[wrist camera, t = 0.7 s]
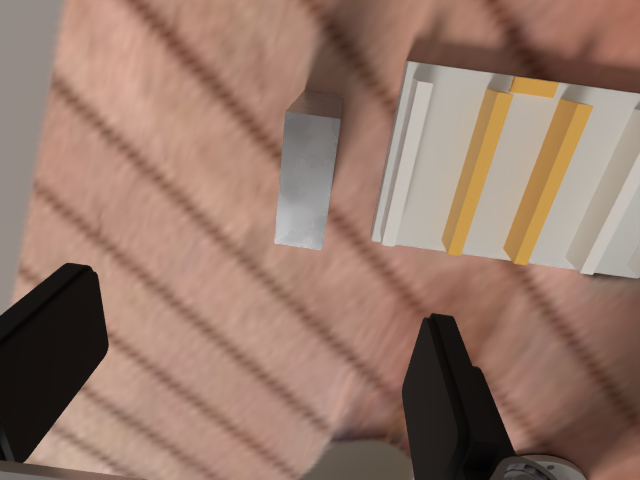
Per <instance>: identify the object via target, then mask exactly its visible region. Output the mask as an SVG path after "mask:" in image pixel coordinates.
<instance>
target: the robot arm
mask: <svg viewBox="0 0 640 480" xmlns="http://www.w3.org/2000/svg"><path fill="white" fill-rule="evenodd" d="M108 346H109V344H108V337H107V330H106V324H105V317H104V311H103V305H102V298H101V292H100V285H99V279H98V275H97V273H96V272H94V271H93V270H92V268H91V267H90V266H88V265H81V264H74V263H66V264H64V265H63V266H61V267H60V268H59V269H58V270H56V271H55V272H54V273H53V274H52V275H50V276H49V277H48V278H47V279H45V280H44V281H43V282H42V283H40V284H39V285H38V286H37V287H35V288H34V289H33V290H32V291H30V292H29V293H28V294H27V295H25V296H24V297H23V298H22V299H20V300H19V301H18V302H17V303H15V304H14V305H13V306H12V307H10V308H9V309H8V310H7V311H6V312H4V313H3V314H2V315H1V316H0V480H146V479H139V478H132V477H124V476H117V475H109V474H102V473H94V472H86V471H79V470H71V469H64V468H56V467H48V466H41V465H33V464H26V463H23V462H25V461H26V460H27V458H28V457H29V456H30V455H31V453H32V452H33V451H34V449H35V448H36V447H37V445H38V444H39V443H40V441H41V440H42V439H43V437H44V436H45V435H46V434H47V432H48V431H49V430H50V428H51V427H52V426H53V424H54V423H55V422H56V420H57V419H58V418H59V416H60V415H61V414H62V412H63V411H64V410H65V408H66V407H67V406H68V405H69V403H70V402H71V401H72V399H73V398H74V397H75V395H76V394H77V393H78V391H79V390H80V389H81V387H82V386H83V385H84V383H85V382H86V381H87V379H88V378H89V377H90V375H91V374H92V373H93V372H94V370H95V369H96V368H97V366H98V365H99V364H100V362H101V361H102V360H103V358H104V357H105V355H106V353H107V351H108ZM402 399H403V406H404V412H405V419H406V425H407V432H408V438H409V445H410V451H411V458H412V464H413V471H414V478H415V480H586V479H585V477H584V475H583V473H582V472H581V470H580V469H579V468H578V467H576V466H575V465H574V464H572V463H571V462H569V461H567V460H564V459H561V458H558V457H554V456H548V455H525V456H520V457H517V456H516V454H515V451H514V449H513V446H512V444H511V442H510V439H509V437H508V434H507V432H506V429H505V427H504V424H503V422H502V419H501V417H500V414H499V412H498V409H497V407H496V404H495V402H494V399H493V397H492V395H491V392H490V390H489V387H488V385H487V382H486V380H485V377H484V375H483V373H482V371H481V369H480V368H478V367H475V366H472V364H471V361H470V358H469V356H468V353H467V350H466V348H465V345H464V343H463V340H462V337H461V335H460V332H459V329H458V327H457V324H456V322H455V319H454V317H453V316H449V315H442V314H434V313H433V314H431V316H430V318H426V317H425V318H424V319H423V321H422V324H421V328H420V331H419V334H418V337H417V341H416V344H415V347H414V350H413V354H412V357H411V360H410V363H409V367H408V370H407V373H406V376H405V380H404V383H403V388H402Z"/></svg>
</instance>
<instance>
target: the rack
mask: <svg viewBox="0 0 640 480" xmlns="http://www.w3.org/2000/svg"><path fill="white" fill-rule="evenodd" d="M371 241H376V242H381V243H382V245H386V246H393V247H395V244H397V245H404V246H411V247H418V248H425V249H432V250H439V251H446V252H447V253H448V254H449V255H457V256H461V254H468V255H475V256H482V257H489V258H496V259H503V260H510V261H512V262H513V263H514V264H520V265H527V263H531V264H538V265H545V266H552V267H560V268H567V269H574V270H578V271H579V272H580V273H584V274H591V275H593V273H594V272H595V273H602V274H609V275H616V276H623V277H630V278H637V279H638V278H639V277H640V93H633V92H626V91H619V90H612V89H605V88H598V87H591V86H584V85H576V84H569V83H562V82H555V81H548V80H541V79H534V78H527V77H520V76H513V75H505V74H498V73H491V72H484V71H477V70H470V69H463V68H456V67H449V66H442V65H434V64H427V63H420V62H413V61H406V62H405V67H404V72H403V77H402V82H401V87H400V92H399V97H398V102H397V107H396V111H395V116H394V121H393V126H392V131H391V136H390V141H389V146H388V151H387V155H386V160H385V165H384V170H383V175H382V180H381V185H380V190H379V195H378V200H377V204H376V209H375V214H374V219H373V224H372V229H371Z"/></svg>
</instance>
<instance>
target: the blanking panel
mask: <svg viewBox="0 0 640 480" xmlns="http://www.w3.org/2000/svg"><path fill="white" fill-rule="evenodd" d="M342 105H343V96H340V95H333V94H326V93H319V92H312V91H305V90H304V91H303V92H302V93H301V95H300V96H299V97H298V98H297V99H296V100H295V101H294V102H293V104H292V105H291V106H290V107H289V108H288V109H287V110H286V111H285V123H284V135H283V147H282V159H281V171H280V184H279V196H278V208H277V220H276V232H275V244H282V245H289V246H296V247H303V248H310V249H317V250H322V248H323V241H324V234H325V227H326V220H327V213H328V207H329V200H330V193H331V186H332V179H333V172H334V165H335V158H336V152H337V145H338V138H339V131H340V124H341V116H342Z"/></svg>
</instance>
